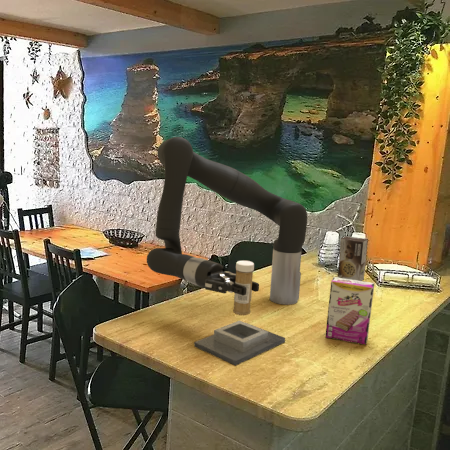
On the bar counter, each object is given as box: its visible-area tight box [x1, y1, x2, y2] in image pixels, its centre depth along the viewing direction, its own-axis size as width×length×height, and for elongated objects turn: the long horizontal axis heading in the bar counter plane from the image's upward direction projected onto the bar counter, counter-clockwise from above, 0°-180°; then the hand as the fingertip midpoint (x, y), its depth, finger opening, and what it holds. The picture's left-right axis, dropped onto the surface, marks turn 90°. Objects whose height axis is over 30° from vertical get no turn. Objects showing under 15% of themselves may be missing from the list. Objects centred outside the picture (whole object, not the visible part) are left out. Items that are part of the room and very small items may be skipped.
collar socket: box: [193, 320, 286, 366], centre depth 128 cm, size 20×14×4 cm
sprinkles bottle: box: [232, 260, 255, 316], centre depth 125 cm, size 5×5×14 cm
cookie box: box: [337, 235, 369, 281], centre depth 191 cm, size 9×6×16 cm
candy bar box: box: [324, 276, 375, 346], centre depth 134 cm, size 11×5×16 cm, turn 70°
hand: (251, 289), depth 123 cm, fingers closed on sprinkles bottle, 4 cm apart
